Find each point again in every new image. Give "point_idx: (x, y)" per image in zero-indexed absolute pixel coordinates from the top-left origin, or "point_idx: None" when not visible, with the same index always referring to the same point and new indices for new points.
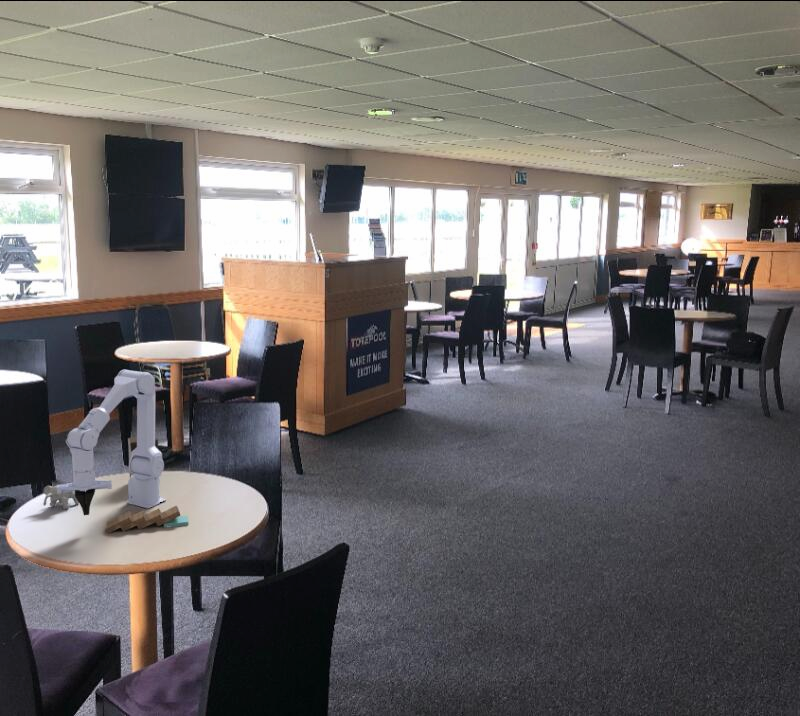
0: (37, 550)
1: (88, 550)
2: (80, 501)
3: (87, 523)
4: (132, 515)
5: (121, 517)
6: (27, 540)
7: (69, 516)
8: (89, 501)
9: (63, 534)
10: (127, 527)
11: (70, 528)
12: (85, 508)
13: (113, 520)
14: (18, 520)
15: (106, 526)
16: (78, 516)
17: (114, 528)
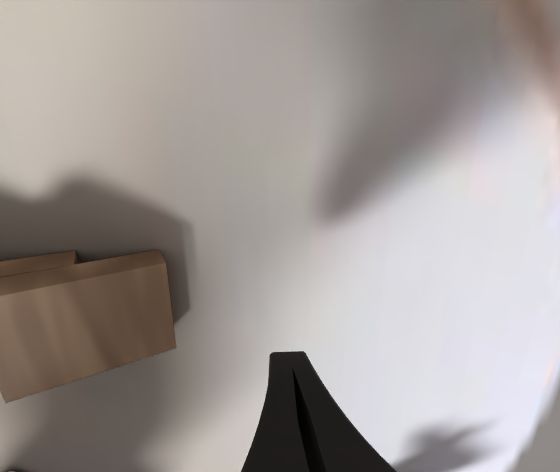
0: (532, 123)
1: (258, 6)
2: (364, 461)
3: None
4: None
5: (60, 342)
6: (540, 263)
7: None
8: (266, 458)
9: (386, 289)
10: (33, 262)
11: (352, 343)
12: (299, 395)
13: (128, 339)
14: (520, 437)
15: (169, 292)
16: None
17: (115, 261)
